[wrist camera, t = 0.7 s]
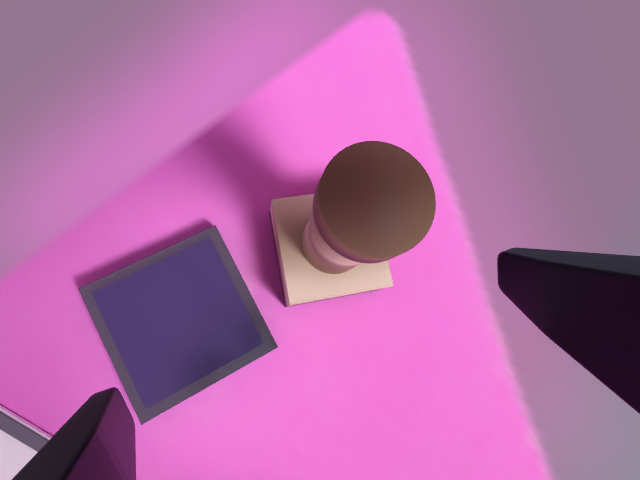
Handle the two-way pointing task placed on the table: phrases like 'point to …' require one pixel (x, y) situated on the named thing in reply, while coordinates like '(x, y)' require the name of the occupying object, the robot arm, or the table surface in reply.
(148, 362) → the ink pad
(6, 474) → the marked square
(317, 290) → the stamp
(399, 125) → the table surface
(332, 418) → the table surface
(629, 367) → the robot arm
